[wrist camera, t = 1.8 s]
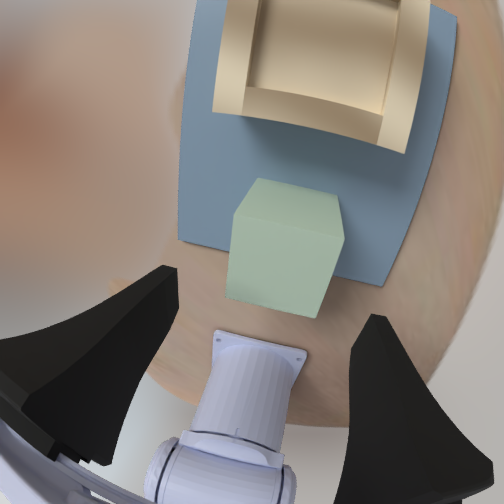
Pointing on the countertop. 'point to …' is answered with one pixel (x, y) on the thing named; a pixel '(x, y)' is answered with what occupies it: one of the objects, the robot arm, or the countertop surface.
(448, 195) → the countertop surface
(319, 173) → the mat
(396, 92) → the base brick
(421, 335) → the countertop surface
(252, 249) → the green brick
